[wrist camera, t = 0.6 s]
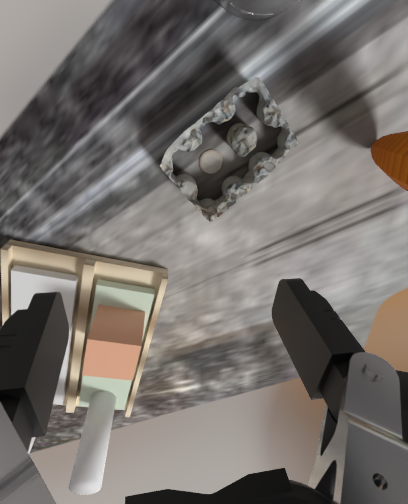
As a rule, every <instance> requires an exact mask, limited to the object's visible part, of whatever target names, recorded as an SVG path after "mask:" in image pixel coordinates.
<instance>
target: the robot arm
mask: <svg viewBox="0 0 408 504" xmlns="http://www.w3.org/2000/svg"><path fill="white" fill-rule="evenodd" d="M216 1H217V2H218V3H219V4H220V5H221V6H222V7H223V8H224V9H225V10H226V11H228V12H230V13H232V14H234V15H235V16H237V17H241V18H245V19H249V20H261V19H266V18H269V17H273V16H275V15H277V14H279V13H281V12H282V11H284V10H286V9H287V8H289V7H291V6H292V5H294V4H296V3H298V2H300V1H301V0H216ZM272 319H273V322H274V325H275V327H276V329H277V331H278V333H279V335H280V337H281V339H282V341H283V343H284V345H285V347H286V349H287V351H288V353H289V355H290V357H291V359H292V361H293V363H294V366H295V368H296V370H297V372H298V374H299V376H300V378H301V380H302V382H303V384H304V386H305V388H306V390H307V392H308V394H309V396H310V398H311V400H314V399H321V398H324V400H325V402H326V404H327V406H326V407H325V411H324V416H323V422H322V427H321V433H320V440H319V444H318V451H317V456H316V461H315V465H314V468H313V471H312V474H311V477H310V480H309V484H308V486H307V485H305V484H303V483H300V482H296V481H293V480H289V479H288V476H287V473H286V470H285V468H281V469H275V470H270V471H264V472H259V473H253V474H248V475H246V476H245V477H243V478H241V479H239V480H237V481H236V482H234V483H232V484H230V485H228V486H226V487H225V488H223V489H221V490H219V491H217V492H215V493H213V494H200V493H193V492H186V491H178V490H171V489H166V490H160V491H154V492H149V493H143V494H138V495H133V496H127V497H125V504H408V372H402V371H396V370H395V369H394V368H393V367H392V366H391V365H390V364H389V363H388V362H387V361H385V360H384V359H382V358H381V357H379V356H377V355H374V354H371V353H367V352H365V351H364V349H363V348H362V347H361V345H360V344H359V343H358V341H357V340H356V339H355V337H354V336H353V335H352V333H351V332H350V331H349V329H348V328H347V327H346V325H345V324H344V323H343V321H342V320H340V317H339V316H338V315H337V313H336V312H335V311H333V308H332V307H331V305H330V304H329V303H328V301H327V300H326V299H325V298H324V297H322V296H321V295H320V294H318V293H317V292H316V291H310V290H309V288H308V287H307V286H306V284H305V283H304V281H303V280H302V279H300V278H297V279H282V280H280V281H279V284H278V288H277V292H276V295H275V299H274V303H273V307H272ZM68 339H69V324H68V319H67V315H66V311H65V307H64V303H63V299H62V295H61V293H60V292H47V293H35V294H34V295H33V297H32V300H31V302H30V304H29V306H28V309H22V310H17V311H16V312H15V313H14V314H13V315H11V316H10V317H9V318H8V319H7V320H6V321H5V322H4V324H3V326H2V328H1V330H0V504H56V502H55V501H54V499H53V497H52V495H51V493H50V492H49V490H48V488H47V486H46V484H45V482H44V480H43V479H42V477H41V475H40V473H39V471H38V470H37V468H36V466H35V464H34V462H33V461H32V459H31V457H30V456H29V454H28V450H29V446H30V443H31V439H32V437H39V436H45V434H46V430H47V426H48V421H49V417H50V413H51V409H52V405H53V401H54V397H55V393H56V389H57V385H58V381H59V377H60V373H61V368H62V364H63V360H64V356H65V352H66V348H67V344H68Z"/></svg>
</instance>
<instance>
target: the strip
mask: <svg viewBox="0 0 408 504" xmlns="http://www.w3.org/2000/svg"><path fill="white" fill-rule="evenodd" d="M77 285H78V276H77V275H71V274H65V273H59V272H53V271H48V270H42V269H36V268H30V267H25V266H19V265H15V266H14V267H13V268H12V270H11V315H13V314H14V313H15V312H16V311H17V310H22V309H28V306H29V304H30V302H31V300H32V297H33V295H34V294H35V293H47V292H60V293H61V295H62V299H63V303H64V307H65V311H66V315H67V319H68V324H69V339H68V344H67V348H66V352H65V356H64V360H63V364H62V368H61V373H60V377H59V381H58V385H57V389H56V393H55V397H54V401H53V404H59V405H62V404H63V401H64V398H65V390H66V381H67V372H68V363H69V355H70V346H71V337H72V329H73V320H74V311H75V302H76V294H77ZM34 440H35V437H32V439H31V443H30V446H29V450H28V454H29V453H30V450H31V448H32V445H33V443H34Z"/></svg>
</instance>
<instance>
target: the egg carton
mask: <svg viewBox="0 0 408 504" xmlns="http://www.w3.org/2000/svg"><path fill="white" fill-rule="evenodd" d="M246 92H250V93H251V92H257V93H258V95H259V103H258V106H257V117H258V119H259V120H260V121H261V122H262V123H264V124H267V125H268V126H269V125H270V126H273V127H275V128H276V127H279V126H281V128H282V130H281V132H280V134H279V135H278V138H277V144H278V149H277V150H276V151H275V152H274V153H272V154H271V155H269V154H267V153H265V152H258V153H256V154H254V155H253V156H252V157H251V159H250V161H249V172H248V173H247V174H246V175H245V177H244V178H243V179H241V178H240V177H237V176H231V177H228V178H226V179H225V181H224V182H223V184H222V187H221V188H222V193H223V195H222V196H221V197H220V198H219V199H218V200H215V201H214V200H212V199H208V198H207V199H203V200H200V201H198V200H197V198H196V197H197V192H198V190H197V185H196V181H195V179H194V178H193V177H192V176H190V175H188V174H180V175H178V176H175V175H174V174H173V173H172V171H173V163H172V155H173V153H174V152H176V151H177V150H178V149H180V150H183V151H188V152H190V151H193V150H195V149H196V148H197V147H198V146H199V145H200V144H202V134H201V131H200V129H199V126H204V125H205V124H206V122H208V123H210V122H215V123H216V124H221V123H223V122H225V121H228V120H230V119H231V118H232V116H233V115H234V112H235V111H236V109H235V105H234V99H235V97H244V96H245V93H246ZM206 119H208V120H207V121H206ZM205 121H206V122H205ZM227 142H228V144H229V146H230V147H231V148H232V149H233V150H234V152H235V153H236V154H238V155H239V156H241V157H245V156H247V154H248V153H249V152H250V151H252V150H253V149H254V148H255V147H256V143H257V135H256V132H255V131H254V129H253V128H252V127H249V126H248V125H246V124H243V123H236V124H234V125H232V126H231V127H230V129H229V131H228V134H227ZM297 144H298V140H297V138H296V137H295V136H294V134H293V132H292V131H291V129H290V126H289V125H288V123H287V122H286V120H285V118H284V117H283V115H282V113H281V111H280V110H279V108H278V107H277V105H276V103H275V101H274V100H273V98H272V96H271V95H270V94H269V92H268V91H267V89H266V87H265V86H264V84H263V83H262V82H261V80H260V79H259V78H258V77H256V78H253V79H251V80H250V81H248V82H246V83H244V84H243V85H241V86H240V87H234V88H233V89H232V90H231V91H230V92H229V93H228V94H227V96H226V97H225V98H224V99H223V100H222V101H220V102H219V103H218V104H217V105H216V106H215V107H214V108H213V109H212V110H211V111H209V112H208V113H206V114H205V115H204V116H203V117H202V118H200V119H199V120H198V121H197V122H196V123H194V124H193V125H192V126H191V127H189V128H188V129H187V130H186V131H184V132H183V133H182V134H181V135H180V136H179V137H178V138H177V139H176V140H175V141H174V142H173V143H172V145H171V146H170V147H169V148H168V149H167V151H166V152H165V154H164V157H163V160H162V162H161V164H160V167H161V169H162V170H163V171H164V172H165V173H166V174H167V175H168V176H169V178H170V179H171V180H172V181H173V182H174V184H175V185H176V186H177V187H178V188H179V189H180V190H181V192H182V193H183V194H184V195H185V196H186V198H187V199H188V200H189V201H191V202H192V203H193V204H194V205H195V206H196V207H197V209H198V210H199V211H200V212H201V213H202V214H203V215H204V216H205V218H206V219H207V220H208V221H213V220H214V219H215V218H216V217H219V216H220V215H222V214H223V213H224V212H225V211H226V210H228V209H229V208H230V207H231V206H233V205H234V204H235V203H236V202H237V199H238V198H240V197H241V196H242V195H244V194H245V193H247V192H249V191H250V190H251V189H252V187H253V186H255V185H256V184H257V183H259V182H260V181H261V180H262V179H264V178H265V177H267V176H268V175H269V174H270V173H271V172H272V171H273V170H274V168H275V167H276V166H277V165H278V164H279V162H280V161H281V160H282V159H283V158H284V157H285V156H286V154H287V152H288V151H289V150H291V149H293V148H294V147H295V146H296V145H297ZM222 164H223V158H222V155H221V154H220V153H219V152H218V151H216V150H208V151H205V152H204V153H203V154H202V155H201V157H200V159H199V166H200V168H201V170H202V171H203V172H205V173H208V174H214V173H216V172H218V171H219V170H220V169H221V167H222Z"/></svg>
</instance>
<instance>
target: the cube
mask: <svg viewBox="0 0 408 504" xmlns="http://www.w3.org/2000/svg"><path fill="white" fill-rule="evenodd" d="M144 319H145V312H144V311H137V310H131V309H124V308H118V307H112V306H105V305H99V304H98V307H97V311H96V314H95V317H94V320H93V323H92V326H91V329H90V332H89V336H88V339H87V345H86V352H85V358H84V365H83V372H82V375H84V376H93V377H103V378H112V379H122V380H132V381H133V377H134V373H135V370H136V366H137V362H138V358H139V354H140V351H141V347H142V338H143V329H144Z"/></svg>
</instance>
